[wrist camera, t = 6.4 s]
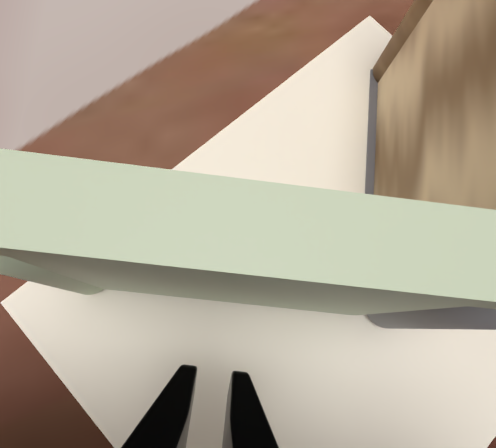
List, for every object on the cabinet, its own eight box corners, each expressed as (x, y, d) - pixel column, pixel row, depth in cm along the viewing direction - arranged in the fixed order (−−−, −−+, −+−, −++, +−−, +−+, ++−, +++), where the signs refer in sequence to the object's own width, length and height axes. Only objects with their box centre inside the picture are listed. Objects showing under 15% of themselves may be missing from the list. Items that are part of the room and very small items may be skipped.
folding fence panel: (408, 283, 17) (697, 220, 7) (408, 330, 16) (725, 337, 6) (73, 246, 16) (-169, 110, 6) (62, 295, 15) (-224, 236, 5)
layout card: (626, 253, 19) (634, 251, 18) (303, 683, 13) (305, 693, 13) (367, 19, 21) (370, 14, 21) (4, 302, 16) (-1, 302, 15)
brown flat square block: (402, 278, 17) (678, 208, 7) (363, 273, 17) (585, 193, 7) (405, 63, 20) (598, -204, 10) (372, 57, 20) (533, -217, 10)
